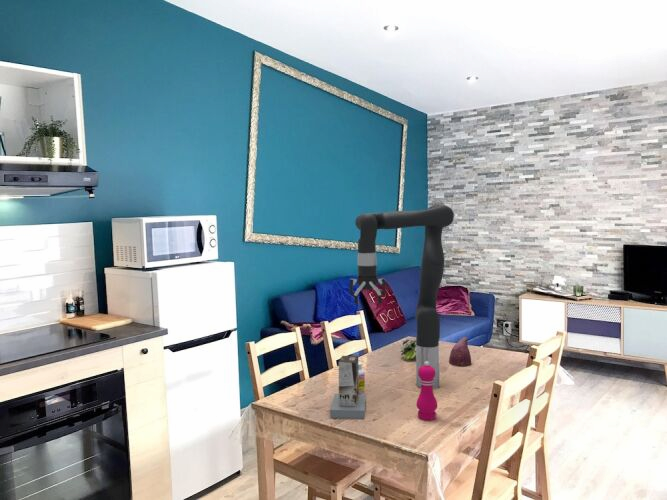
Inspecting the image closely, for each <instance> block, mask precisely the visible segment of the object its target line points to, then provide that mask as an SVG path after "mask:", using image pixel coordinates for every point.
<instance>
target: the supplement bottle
mask: <svg viewBox="0 0 667 500" xmlns="http://www.w3.org/2000/svg"><path fill="white" fill-rule="evenodd" d="M358 365H359V394H366V393H365V391H366V390H365V389H366V388H365V387H366V380H365V378H366V377H365V374H366V373H365V370H364V368H363V363H362V361H359V360H358Z"/></svg>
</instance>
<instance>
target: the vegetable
mask: <svg viewBox="0 0 667 500" xmlns="http://www.w3.org/2000/svg"><path fill="white" fill-rule="evenodd" d="M471 357H472V356H471V352H470V349H469V346H468V337H467V336H463V337H461V339H460V340H459V341H458V342H456V343H455V344H454V345H453V347H452V349H451V350H450V354H449V359H448V363H449V364H450V365H451V366H454V367H461V368H466V367H469V366H471V365H472V358H471Z"/></svg>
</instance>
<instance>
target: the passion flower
mask: <svg viewBox="0 0 667 500" xmlns="http://www.w3.org/2000/svg"><path fill="white" fill-rule="evenodd" d="M409 341H410V342H409ZM399 351H400V356H403V361H408V360H412V359H413V358H415V357H416V339H413V340H410V339H406V340H403V341H402V347H401V348H400V350H399Z"/></svg>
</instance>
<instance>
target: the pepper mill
mask: <svg viewBox="0 0 667 500" xmlns="http://www.w3.org/2000/svg"><path fill="white" fill-rule="evenodd" d="M418 375H419V377H420V384H421V388H420V393H419V395H418V396H417V399H416V407H417V409H418V410H417V417H418V419H420V420H423V421H433V420H435V419H436V418H437V412H436V410H437V408H438V402H437V401H438V400H437V399H436V396H435V393H434V390H433V389H434V388H433V384H434V379H433V378H434V377H435V369H434V368H433V367H432V366H429V362H428V361H425V362H424V366H421V367H420V368H419V370H418Z"/></svg>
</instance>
